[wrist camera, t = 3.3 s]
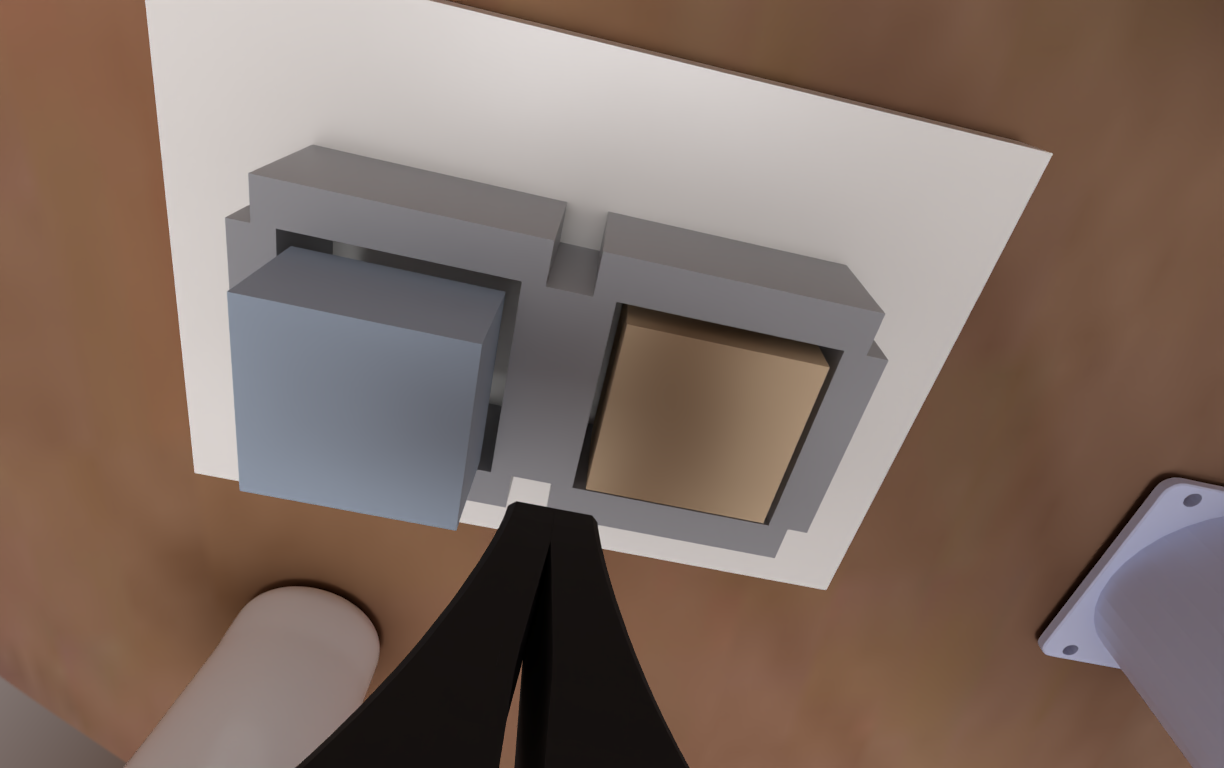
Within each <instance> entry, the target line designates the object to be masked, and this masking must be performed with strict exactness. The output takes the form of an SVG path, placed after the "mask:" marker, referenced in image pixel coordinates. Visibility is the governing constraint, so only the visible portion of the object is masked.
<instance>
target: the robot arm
mask: <svg viewBox="0 0 1224 768" xmlns="http://www.w3.org/2000/svg"><path fill="white" fill-rule="evenodd" d="M1187 496H1188V497H1187ZM1038 645H1039V647H1040V648H1041V650H1042V651H1043V652H1044V653H1045V654H1046V655H1049V656H1053V657H1059V658H1064V659H1070V660H1075V661H1081V662H1086V663H1092V664H1097V665H1103V666H1108V667H1114V668H1119V669H1121V670H1122V671H1123V672H1124V674H1125V675H1126V676H1127V678H1128V679H1129V681H1130V682H1131V683H1132V685H1133V686H1134V687H1135V689H1136V690H1137V692H1138V693H1139V694H1140V696H1141V697H1142V698H1143V700H1144V701H1145V703H1146V704H1147V705H1148V707H1149V708H1150V709H1151V711H1152V712H1153V714H1154V715H1155V716H1156V718H1157V719H1158V720H1159V722H1160V723H1161V725H1162V726H1163V727H1164V729H1165V730H1166V731H1167V733H1168V734H1169V736H1170V737H1171V738H1172V740H1173V741H1174V742H1175V744H1176V745H1177V747H1178V748H1179V749H1180V751H1181V752H1182V753H1183V755H1184V756H1185V758H1186V759H1187V760H1188V762H1189V763H1190V765H1191V766H1192V767H1193V768H1224V487H1222V486H1217V485H1213V484H1208V483H1203V482H1198V481H1193V480H1189V479H1184V478H1174V477H1173V478H1169V479H1166V480H1164V481H1162V482H1160V483H1159V484H1158V485H1157V486H1156V487H1155V488H1154V490H1153V491H1152V492H1151V493H1150V495H1149V496H1148V497H1147V499H1146V500H1145V501H1144V503H1143V504H1142V505H1141V506H1140V508H1139V509H1138V510H1137V512H1136V513H1135V514H1134V516H1133V517H1132V518H1131V519H1130V521H1129V522H1128V523H1127V525H1126V526H1125V527H1124V528H1123V530H1122V531H1121V532H1120V534H1119V535H1118V536H1117V538H1116V539H1115V540H1114V541H1113V543H1112V544H1111V545H1110V547H1109V548H1108V549H1107V551H1106V552H1105V553H1104V554H1103V556H1102V557H1101V558H1100V560H1099V561H1098V562H1097V563H1096V565H1095V566H1094V567H1093V569H1092V570H1091V571H1090V573H1089V574H1088V575H1087V576H1086V578H1085V579H1084V580H1083V582H1082V583H1081V584H1080V586H1079V587H1078V588H1077V589H1076V591H1075V592H1074V593H1073V595H1072V596H1071V597H1070V598H1069V600H1068V601H1067V602H1066V604H1065V605H1064V606H1063V608H1062V609H1061V610H1060V611H1059V613H1058V614H1057V615H1056V617H1055V618H1054V619H1053V621H1052V622H1051V623H1050V624H1049V626H1048V627H1047V628H1046V630H1045V631H1044V632H1043V633H1042V635H1041V636H1040V638H1039V640H1038ZM522 661H523V663H522ZM521 664H522V676H521V689H520V702H519V715H518V728H517V741H516V755H515V768H689V766H688V764H687V762H686V761H685V759H684V757H683V755H682V753H681V751H680V750H679V748H678V746H677V744H676V742H675V740H674V738H673V736H672V734H671V732H670V730H669V728H668V726H667V724H666V722H665V720H664V718H663V716H662V714H661V711H660V709H659V707H658V705H657V703H656V701H655V699H654V696H653V694H652V692H651V690H650V687H649V685H648V683H647V680H646V678H645V676H644V673H643V671H642V668H641V666H640V664H639V661H638V659H637V656H636V654H635V651H634V649H633V646H632V643H631V641H630V638H629V636H628V633H627V630H626V627H625V624H624V621H623V618H622V615H621V613H620V610H619V607H618V604H617V601H616V598H615V595H614V591H613V588H612V585H611V581H610V578H609V574H608V571H607V567H606V563H605V559H604V555H603V551H602V546H601V541H600V536H599V530H598V522H597V521H596V520H595V518H594V517H593V516H592V515H588V514H582V513H577V512H572V511H566V510H561V509H556V508H550V507H545V506H540V505H534V504H529V503H524V502H518V501H516V502H514V503H512V504H510V505H508V507H507V510H506V513H505V515H504V518H503V520H502V522H501V524H500V526H499V528H498V530H497V532H496V534H495V536H494V537H493V539H492V541H491V543H490V544H489V546H488V548H487V549H486V551H485V552H484V554H483V556H482V557H481V559H480V561H479V562H478V564H477V565H476V567H475V568H474V569H473V571H472V572H471V574H470V575H469V577H468V578H467V580H466V581H465V582H464V584H463V585H462V587H461V588H460V590H459V591H458V593H457V594H456V595H455V597H454V598H453V599H452V601H451V602H450V603H449V605H448V606H447V607H446V608H445V610H444V611H443V612H442V614H441V615H440V616H439V617H438V619H437V620H436V621H435V622H434V624H433V625H432V626H431V627H430V629H429V630H428V631H427V632H426V634H425V635H424V636H423V637H422V639H421V640H420V641H419V642H418V643H417V645H416V646H415V647H414V648H413V649H412V650H411V652H410V653H409V654H408V655H407V656H406V657H405V659H404V660H403V661H402V662H401V663H400V664H399V665H398V666H397V668H396V669H395V670H394V671H393V672H392V673H391V674H390V675H389V676H388V677H387V678H386V679H385V681H384V682H383V683H382V684H381V685H380V686H379V687H378V688H377V689H376V690H375V691H374V692H373V693H372V694H371V695H370V696H369V698H368V699H367V700H366V701H365V702H364V703H363V704H362V705H361V706H360V707H359V708H358V709H356V710H355V711H354V712H353V713H352V714H351V715H350V716H349V717H348V718H347V719H346V720H345V721H344V722H343V723H342V724H341V725H340V726H339V727H338V728H337V729H336V730H335V731H334V732H333V733H332V734H331V735H330V736H329V737H328V738H327V739H326V740H325V741H324V742H323V743H322V744H321V745H320V746H318V747H317V748H316V749H315V750H314V751H313V752H312V753H311V754H310V755H309V756H308V757H307V758H306V759H304V760H303V761H302V762H301V763H300V764H299V765H298V766H296V767H295V768H499V764H500V758H501V751H502V745H503V739H504V732H505V726H506V721H507V717H508V713H509V709H510V706H511V702H512V698H513V694H514V691H515V687H516V683H517V679H518V676H519V672H520V668H521Z"/></svg>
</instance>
